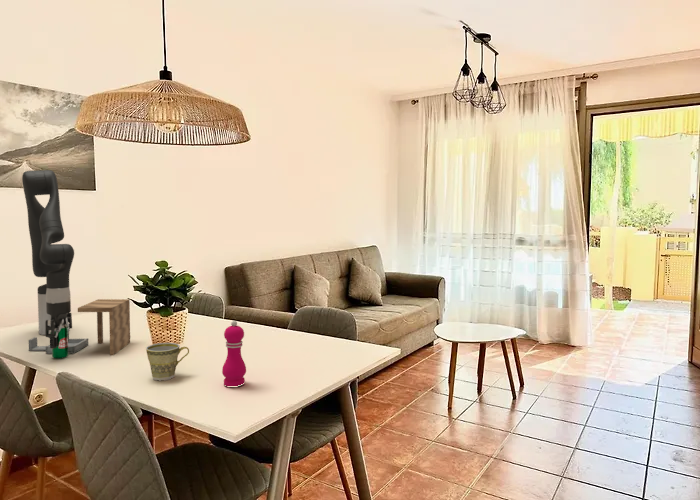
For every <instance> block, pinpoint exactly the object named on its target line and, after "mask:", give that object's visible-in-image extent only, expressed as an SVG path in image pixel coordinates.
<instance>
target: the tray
mask: <svg viewBox="0 0 700 500" xmlns="http://www.w3.org/2000/svg"><path fill="white" fill-rule="evenodd" d="M88 345H89V338H69V341H68V354H76V353H77V352H78V351H81V350H82V349H84V348H85V347H87V346H88ZM28 351H45V354H52V348H50V344H48V345H38V337H37V336H34V337H32V338H29V339H28Z"/></svg>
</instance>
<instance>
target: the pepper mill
mask: <svg viewBox="0 0 700 500" xmlns="http://www.w3.org/2000/svg"><path fill="white" fill-rule="evenodd" d="M223 336H224V339H225V347H226V348H227V349H226V350H227V353H226V354H227V355H226V359H225V361H224V363H223V366H222V371H221V372H222V375H223V377H224V379H223V386H224V385H226V386H238V385H241V384H243V383H244V382H245V381H246V379H245V377H244V376H245V374H246V373H247V366H246V363H245V361H244V359H243V356H242V347H243V341H242V340H243V338H244V337H245V331H244V328H243V327H241V326H240V325H238V322H237V320H232V321H231V323H230V326H227V327H226V329H225V330H224V333H223Z"/></svg>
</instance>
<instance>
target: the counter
mask: <svg viewBox="0 0 700 500" xmlns="http://www.w3.org/2000/svg"><path fill="white" fill-rule="evenodd" d="M130 311H131V308H130V299H119V298H118V299H117V298H115V299H113V298H111V299H109V298H107V299H106V298H104V299H103V298H102V299H100V298H99V299H95V300H93V301H91V302H89V303H86V304H84V305H81V306H79V307H77V313H96V323H97V325H96V330H97V334H96V335H97V344H99V345H100V344H103V343H104V326H103V323H104V322H103V321H104V320H103V319H104V316H103V313H108V314H109V315H108V316H109V318H108V319H109V324H108V325H109V355H110V356H115V354H117V353H119V351H121V350H123V348H125V347H127V345H129V344H130V343H131V315H130V314H131V312H130Z"/></svg>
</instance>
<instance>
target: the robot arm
mask: <svg viewBox="0 0 700 500" xmlns="http://www.w3.org/2000/svg"><path fill="white" fill-rule="evenodd" d="M21 181H22V189H23V192H24V193H23V194H24V199H25V202H26V209H27V223H28V231H29V239H30V244H31V264H32V266H31V267H32V271H33V274H34V276H35V277H37V278H45V280H46V283H45V284H42V285H41V284H40V285H39V286H38V287H37V312H38V313H37V317H38V319H37V320H38V334H39V335H42V336H43V335H44V336H45V338H49V345H50V348H57V347H58V346H57V335H58V332H60V330H61V327H62V325H63V324H65V323H66V325H67V326H68V341H69V339H70V331H71V329H73V319H72V317H73V316H72V314H73V313H72V308H71V307H72V306H71V304H72V303H71V302H72V301H71V289H70V272H71V267H72V264H73V260H74V258H75V249H74V248H73V246H72V245H71V244H69V243H60V242H61V241H62V240H64V238H65V232H64V227H63V223H62V217H61V204H60V191H59V184H58V183H59V182H58V179H57V175H56V173H55V172H54V170H52V169H51V170H48V169H44V170H43V169H41V170H40V169H39V170H37V169H36V170H25V171H24V172H23V173H22V177H21ZM36 196H49V199H48V200H47V201H48V202H47V204H46V205H45V207H44V205H42V204H41V203H40V201H38V199H37V197H36ZM55 328H57V329H55Z"/></svg>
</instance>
